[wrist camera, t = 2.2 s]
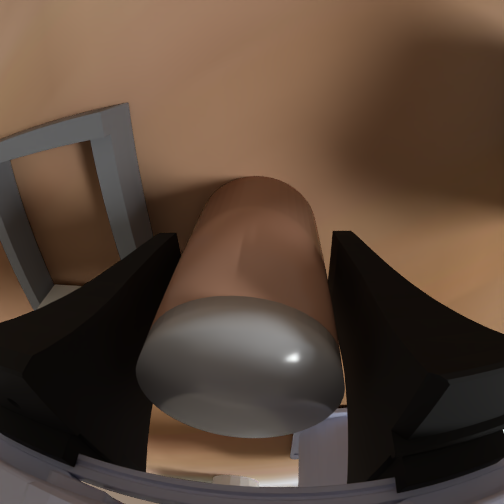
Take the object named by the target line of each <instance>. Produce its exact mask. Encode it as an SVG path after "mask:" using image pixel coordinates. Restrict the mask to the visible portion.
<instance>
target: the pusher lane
mask: <svg viewBox="0 0 504 504" xmlns="http://www.w3.org/2000/svg"><path fill="white" fill-rule="evenodd" d="M87 140H90V141H91V146H92V151H93V156H94V161H95V165H96V170H97V174H98V179H99V183H100V187H101V191H102V195H103V199H104V203H105V207H106V211H107V215H108V218H109V222H110V225H111V229H112V232H113V236H114V239H115V243H116V246H117V249H118V252H119V256H120V259H121V260H122V259H123V258H124V257H126V256H127V255H129V254H130V253H131V252H133V251H134V250H135V249H137V248H138V247H140V246H141V245H142V244H144V243H145V242H146V241H148V240H149V239H151V238H152V237H153V234H152V230H151V225H150V221H149V216H148V212H147V207H146V202H145V197H144V193H143V188H142V183H141V177H140V172H139V167H138V161H137V156H136V150H135V144H134V138H133V132H132V125H131V118H130V111H129V104H128V102H127V103H122V104H118V105H113V106H108V107H104V108H100V109H95V110H91V111H87V112H83V113H79V114H76V115H72V116H68V117H65V118H61V119H58V120H55V121H51V122H48V123H45V124H42V125H39V126H35V127H32V128H29V129H27V130H24V131H21V132H18V133H15V134H13V135H10V136H7V137H5V138H2V139H0V241H1V243H2V245H3V248H4V250H5V252H6V255H7V257H8V259H9V262H10V264H11V266H12V268H13V270H14V272H15V274H16V277H17V279H18V281H19V283H20V285H21V287H22V289H23V291H24V293H25V295H26V296H27V298H28V300H29V302H30V304H31V306H32V308H33V309H34V310H36V309H37V308H38V307H39V305H40V304H41V302H42V301H43V300H44V298H45V297H46V296H47V294H48V293H49V292H50V290H51V289H52V288H53V286H54V283H53V281H52V279H51V277H50V274H49V272H48V270H47V268H46V265H45V263H44V261H43V258H42V256H41V253H40V251H39V248H38V246H37V243H36V241H35V238H34V236H33V233H32V230H31V227H30V225H29V222H28V219H27V216H26V213H25V210H24V207H23V204H22V201H21V198H20V195H19V191H18V188H17V185H16V181H15V178H14V174H13V170H12V167H11V163H10V160H12V159H15V158H18V157H22V156H25V155H29V154H33V153H36V152H40V151H44V150H48V149H52V148H56V147H60V146H64V145H69V144H73V143H78V142H82V141H87Z"/></svg>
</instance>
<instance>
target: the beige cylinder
mask: <svg viewBox="0 0 504 504" xmlns="http://www.w3.org/2000/svg"><path fill="white" fill-rule="evenodd" d="M212 483H213V484H223V485H235V486H251V487H259V481H257V480H256V479H253V478H250V477H244V476H236V475H218V476H215V477H213V480H212Z"/></svg>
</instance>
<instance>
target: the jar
mask: <svg viewBox="0 0 504 504" xmlns="http://www.w3.org/2000/svg"><path fill="white" fill-rule="evenodd" d="M136 377H137V381H138V384H139V386H140V388H141V390H142V391H143V393H144V394H145V395H146V397H147V398H148V399H149V400H150V401H151V402H152V403H153V404H154V405H155V406H156V407H158V408H159V409H160V410H162V411H163V412H164V413H166V414H167V415H169V416H171V417H172V418H174V419H176V420H178V421H180V422H182V423H184V424H186V425H189V426H191V427H194V428H197V429H200V430H203V431H206V432H210V433H214V434H219V435H224V436H231V437H240V438H268V437H277V436H283V435H288V434H292V433H296V432H299V431H302V430H305V429H308V428H310V427H312V426H315V425H317V424H318V423H320V422H322V421H324V420H325V419H326V418H328V417H329V416H330V415H331V414H332V413H333V412H334V411H335V410H336V409H337V408H338V406H339V405H340V404H341V401H342V399H343V397H344V392H345V386H344V377H343V370H342V363H341V356H340V349H339V343H338V337H337V330H336V324H335V318H334V313H333V307H332V301H331V296H330V290H329V285H328V279H327V274H326V269H325V264H324V259H323V254H322V249H321V244H320V240H319V235H318V230H317V226H316V221H315V217H314V214H313V211H312V209H311V207H310V205H309V203H308V202H307V201H306V199H305V198H304V197H303V196H302V195H301V194H300V193H299V192H298V191H297V190H296V189H294V188H293V187H291V186H290V185H288V184H286V183H284V182H282V181H280V180H277V179H273V178H269V177H262V176H251V177H244V178H239V179H236V180H233V181H231V182H229V183H227V184H225V185H223V186H222V187H220V188H219V189H218V190H217V191H216V192H214V193H213V194H212V196H211V197H210V198H209V199H208V201H207V203H206V204H205V206H204V208H203V210H202V212H201V214H200V216H199V219H198V221H197V223H196V225H195V227H194V229H193V231H192V234H191V236H190V238H189V240H188V242H187V244H186V247H185V249H184V251H183V253H182V255H181V258H180V260H179V262H178V264H177V267H176V269H175V271H174V274H173V276H172V278H171V280H170V283H169V285H168V287H167V290H166V292H165V294H164V297H163V299H162V301H161V304H160V306H159V309H158V311H157V313H156V316H155V318H154V321H153V323H152V326H151V328H150V331H149V333H148V336H147V338H146V341H145V343H144V346H143V348H142V351H141V353H140V356H139V358H138V361H137V365H136Z"/></svg>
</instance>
